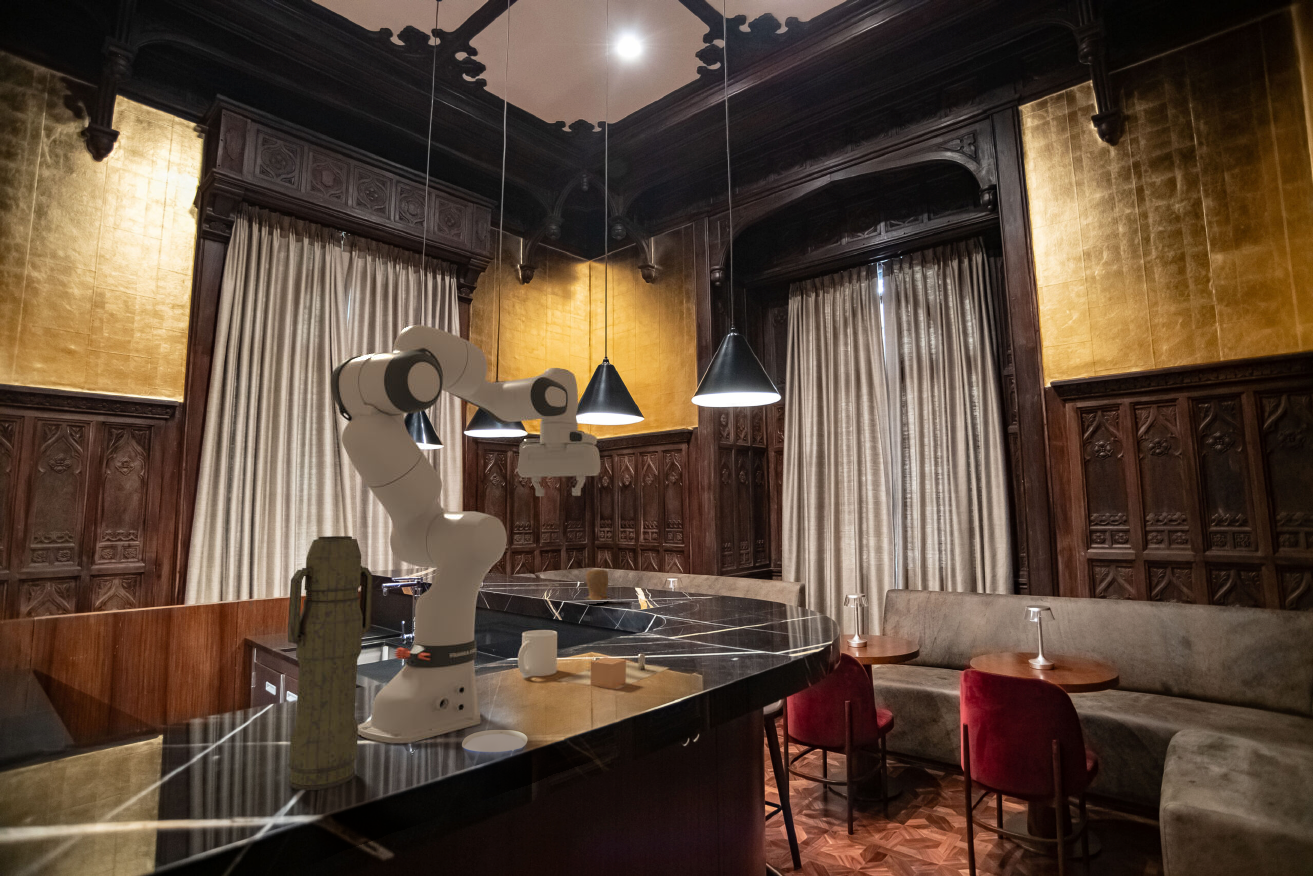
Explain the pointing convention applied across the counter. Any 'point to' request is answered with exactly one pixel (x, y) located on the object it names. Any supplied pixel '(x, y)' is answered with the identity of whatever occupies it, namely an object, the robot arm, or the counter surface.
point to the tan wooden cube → (608, 672)
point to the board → (631, 675)
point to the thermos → (327, 661)
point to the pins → (640, 661)
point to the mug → (538, 653)
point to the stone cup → (597, 584)
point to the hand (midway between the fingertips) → (558, 495)
